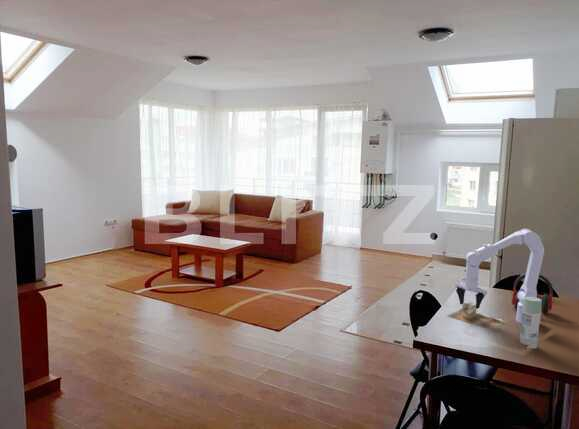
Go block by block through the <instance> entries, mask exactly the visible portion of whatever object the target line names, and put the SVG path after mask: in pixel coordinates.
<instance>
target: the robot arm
mask: <svg viewBox="0 0 579 429" xmlns="http://www.w3.org/2000/svg"><path fill="white" fill-rule="evenodd" d="M515 244H516V245H523V244H524V245H525V246H526V247H527V248H528V249H529V250H530V254H529V258H528V261H527V262H528V263H527V267H526V270H527V271H526V270H525V273H526V276H525V280H524V279H523V280H524V284H523V283H522V285H521V287H520V289H519V290H520V291H519V292H518V293H517V298H518V300H519V302H518V305H517V310H516V316H515V321H516V322H517V323H519V324H521V321H522V310H523V299H524V297H526V296H531V297H537V295H538V291H537V285H538V282H539V281H538V280H539V273H540V274H541V269H542V268H541V267H542V263H543V259H544V255H545V247H544V244H543V242H542V238H541V237H540V235H538V233H536V232H534V231H533V230H531V229H529V228H522V229H520V230H517V231H515V232H513V233H512V234H509V235H508V236H507V237H505V238H503V239H500V240H499V241H497V242H496V243H493V244H490V243H488V244H487V243H484V244H483V246H481V247H480V248H478V249H476V248H475V249H474V250H473V251H469V252H468V253H466V256H465V257H464V258H465V261H466V263H465V264H466V266H465V274H464V275H465V277H464V284H463V283H459V282H456V283H455V285H454V288H455V292H456V294H457V295H458V300H459V304H460V305H461V306H462V304H464V303H465V295H466V291H469V292H472V293H475V304H476V310H477V309H480V306H481V303H482V301H483V300H484V298H485V297H486V295H488V290H487V289H483V288H481V287H478V286H479V273H480V265H481V263H482V262H484V261H486V260H489V259H490V258H492V257H494V256H496V255H497V252H498V251H500V250H503V249H505V248H507V247H510V246H512V245H515ZM537 298H538V297H537ZM541 315H542V312H541V313H540V320H541V317H542V316H541ZM540 324H541V321H540V322H539V325H540Z"/></svg>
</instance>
